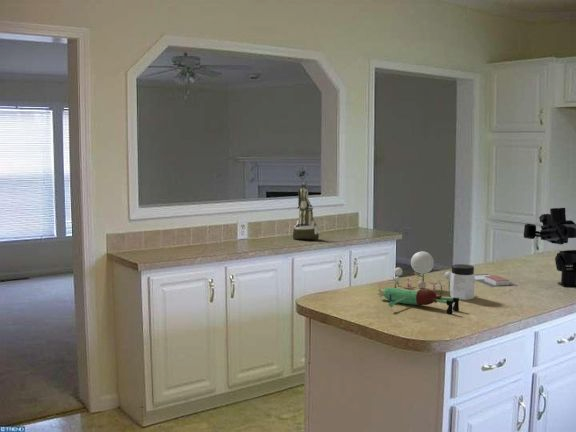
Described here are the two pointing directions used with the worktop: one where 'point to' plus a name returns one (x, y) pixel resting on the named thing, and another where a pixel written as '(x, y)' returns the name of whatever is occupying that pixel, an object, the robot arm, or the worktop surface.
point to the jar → (462, 282)
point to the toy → (417, 298)
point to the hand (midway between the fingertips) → (533, 235)
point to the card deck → (496, 280)
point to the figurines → (421, 269)
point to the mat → (481, 279)
